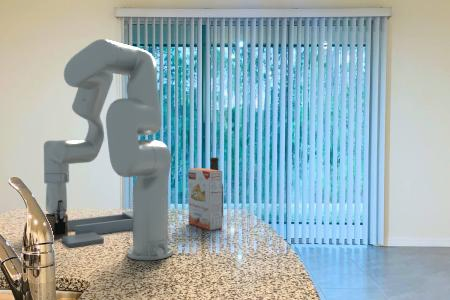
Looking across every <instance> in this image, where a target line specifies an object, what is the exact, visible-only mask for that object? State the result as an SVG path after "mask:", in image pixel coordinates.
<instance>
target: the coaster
mask: <svg viewBox="0 0 450 300" xmlns="http://www.w3.org/2000/svg"><path fill="white" fill-rule="evenodd" d="M61 241H62V242H64V244H65V245H66V246H68V248H76V247H82V246H83V247H84V246H90V245H95V244H102V243H105V238H104V237H102V236H101V235H100V234H97V233H95V232H91V233H83V234H76V235H75V234H70V235H69V234H68V236H62V237H61Z"/></svg>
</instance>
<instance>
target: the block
mask: <svg viewBox="0 0 450 300" xmlns="http://www.w3.org/2000/svg"><path fill="white" fill-rule="evenodd" d="M45 215H46V217H47V219H48V221H49V223H50V225H51V228H52V231H53V235H54V238H53V239H57V238H62V236H68V235H69V231H68V220H69V217H68V214H67V212H66V213H65V234H62V235H55V234H54V223H55V214H54V213H53V215H51V214H50V213H45ZM45 215H44V216H45ZM57 218H58V215H57Z"/></svg>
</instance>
